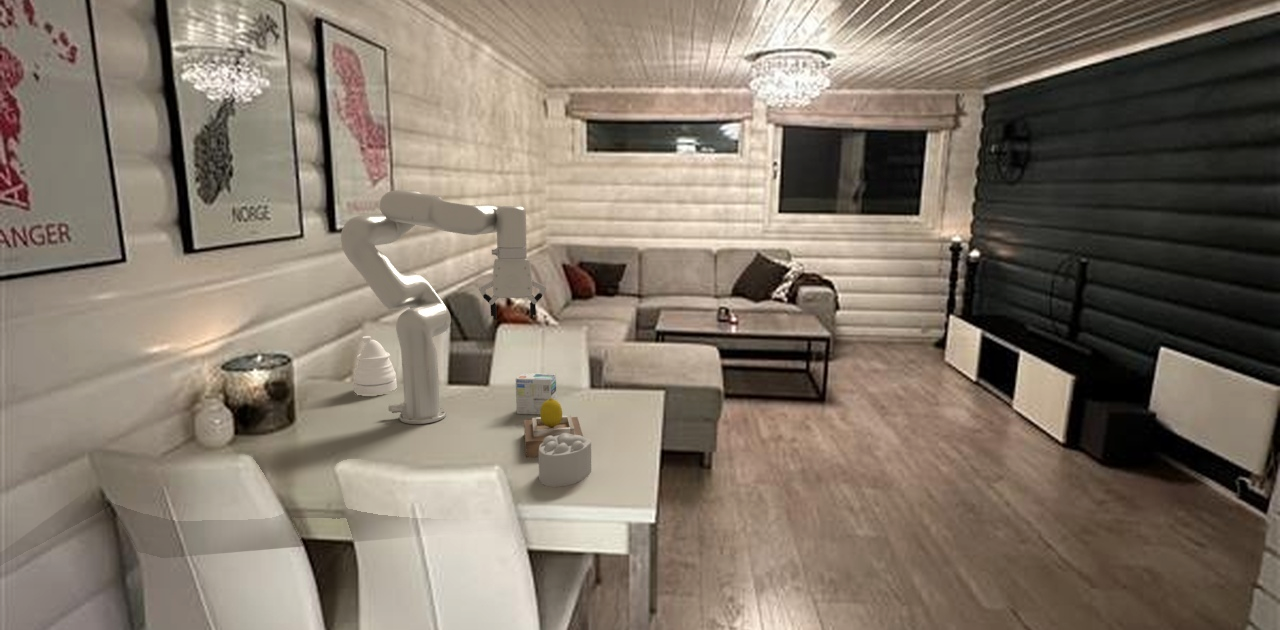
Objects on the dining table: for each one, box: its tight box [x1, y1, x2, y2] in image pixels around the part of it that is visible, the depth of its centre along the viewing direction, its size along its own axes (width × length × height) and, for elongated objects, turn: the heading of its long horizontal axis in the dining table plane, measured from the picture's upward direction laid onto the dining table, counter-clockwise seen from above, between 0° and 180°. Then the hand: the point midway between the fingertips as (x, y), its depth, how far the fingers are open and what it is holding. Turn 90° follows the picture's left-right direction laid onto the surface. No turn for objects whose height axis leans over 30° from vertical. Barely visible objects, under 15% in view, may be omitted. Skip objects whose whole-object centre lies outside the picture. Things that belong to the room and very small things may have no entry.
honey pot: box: [353, 335, 398, 394], centre depth 220 cm, size 13×13×18 cm
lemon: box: [539, 398, 563, 429], centre depth 175 cm, size 6×6×8 cm
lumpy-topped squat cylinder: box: [538, 433, 592, 488], centre depth 156 cm, size 10×13×9 cm
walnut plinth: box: [523, 415, 584, 458], centre depth 176 cm, size 14×16×6 cm
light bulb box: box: [515, 372, 558, 416], centre depth 201 cm, size 11×7×11 cm, turn 84°
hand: (513, 318), depth 183 cm, fingers open, 9 cm apart
